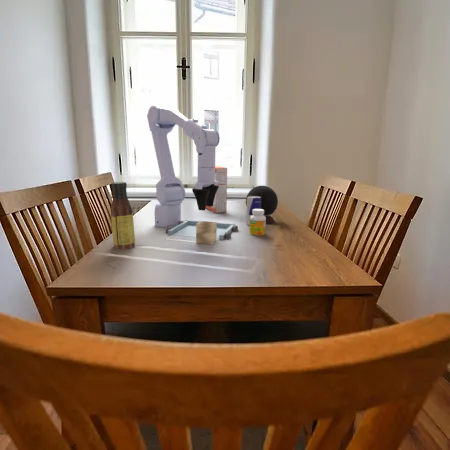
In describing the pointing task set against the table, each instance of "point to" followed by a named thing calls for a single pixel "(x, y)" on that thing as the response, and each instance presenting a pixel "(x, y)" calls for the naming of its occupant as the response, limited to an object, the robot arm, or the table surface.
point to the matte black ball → (265, 201)
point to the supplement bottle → (257, 222)
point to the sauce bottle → (122, 218)
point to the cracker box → (220, 191)
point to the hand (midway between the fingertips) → (205, 208)
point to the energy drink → (252, 206)
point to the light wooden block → (206, 232)
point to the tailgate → (183, 240)
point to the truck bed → (189, 229)
